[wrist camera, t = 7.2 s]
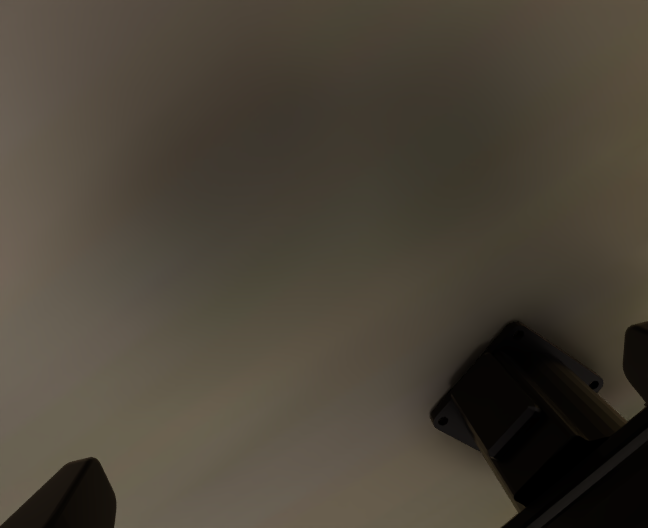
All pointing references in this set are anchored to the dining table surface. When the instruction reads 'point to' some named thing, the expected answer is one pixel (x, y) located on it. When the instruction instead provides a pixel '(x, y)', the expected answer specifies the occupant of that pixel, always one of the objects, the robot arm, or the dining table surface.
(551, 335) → the dining table surface
